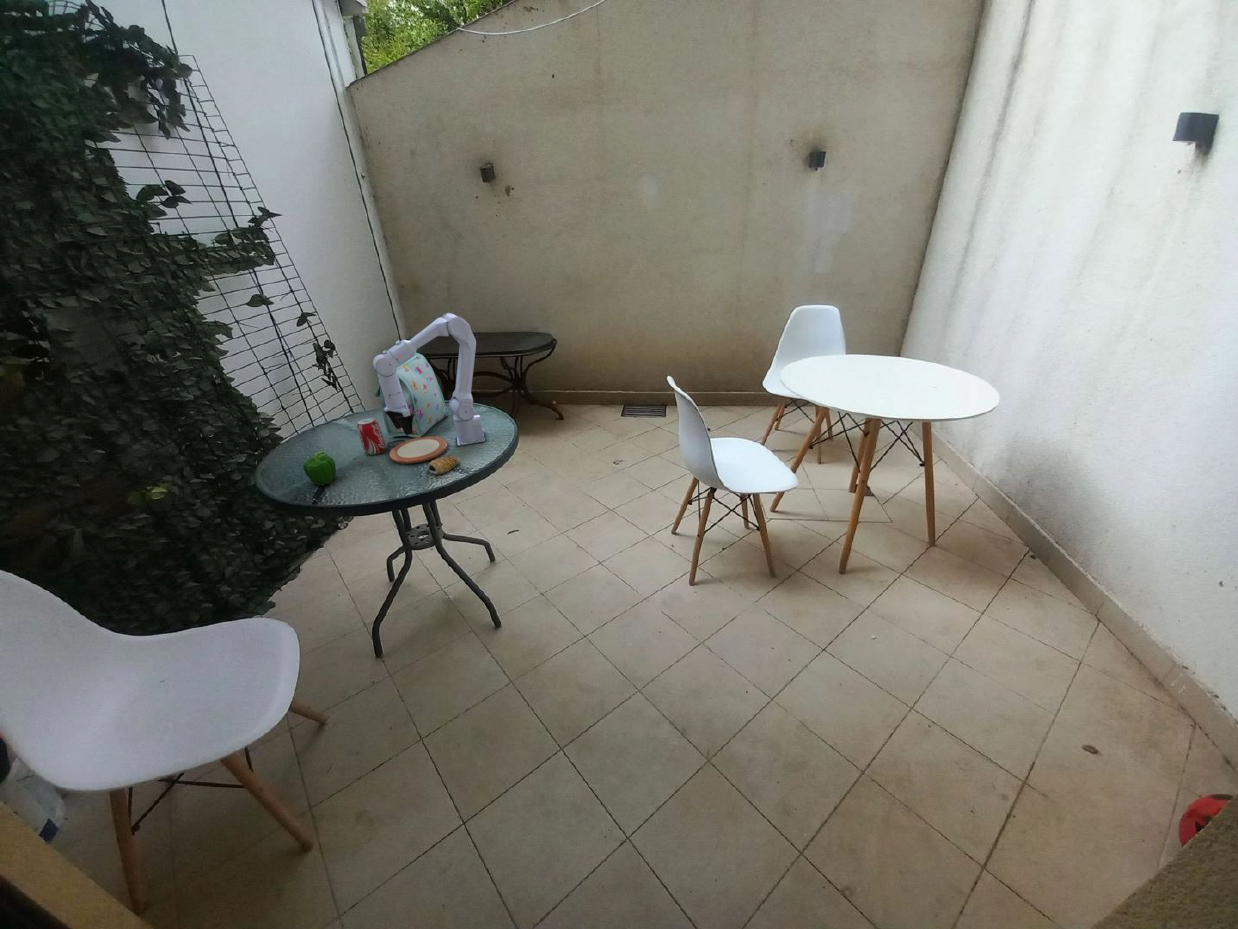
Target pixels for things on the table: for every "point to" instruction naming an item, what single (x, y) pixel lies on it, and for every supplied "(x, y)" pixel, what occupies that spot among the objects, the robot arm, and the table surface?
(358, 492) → the table surface
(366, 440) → the soda can
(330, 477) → the bell pepper
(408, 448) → the plate
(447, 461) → the pastry
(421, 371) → the lunch bag
